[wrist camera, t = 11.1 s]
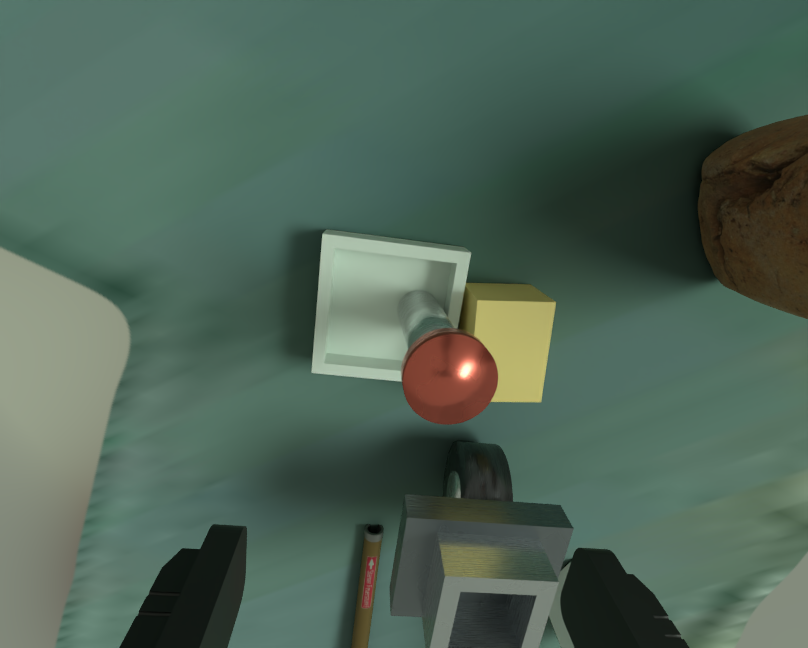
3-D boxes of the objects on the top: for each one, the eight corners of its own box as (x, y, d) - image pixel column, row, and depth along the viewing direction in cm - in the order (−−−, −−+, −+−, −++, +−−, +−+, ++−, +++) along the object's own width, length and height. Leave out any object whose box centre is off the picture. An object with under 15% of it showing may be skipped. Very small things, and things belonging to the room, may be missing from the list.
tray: (326, 229, 30) (322, 233, 28) (463, 246, 31) (471, 252, 29) (315, 358, 33) (311, 372, 31) (442, 371, 34) (447, 385, 32)
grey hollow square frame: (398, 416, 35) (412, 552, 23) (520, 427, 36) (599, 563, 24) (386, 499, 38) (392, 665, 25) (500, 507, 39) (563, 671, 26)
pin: (391, 276, 31) (410, 331, 20) (453, 283, 32) (506, 341, 20) (384, 336, 32) (397, 420, 21) (443, 342, 33) (488, 427, 21)
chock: (462, 282, 32) (477, 300, 28) (529, 284, 33) (556, 302, 28) (455, 370, 35) (467, 401, 30) (518, 371, 35) (541, 402, 30)
